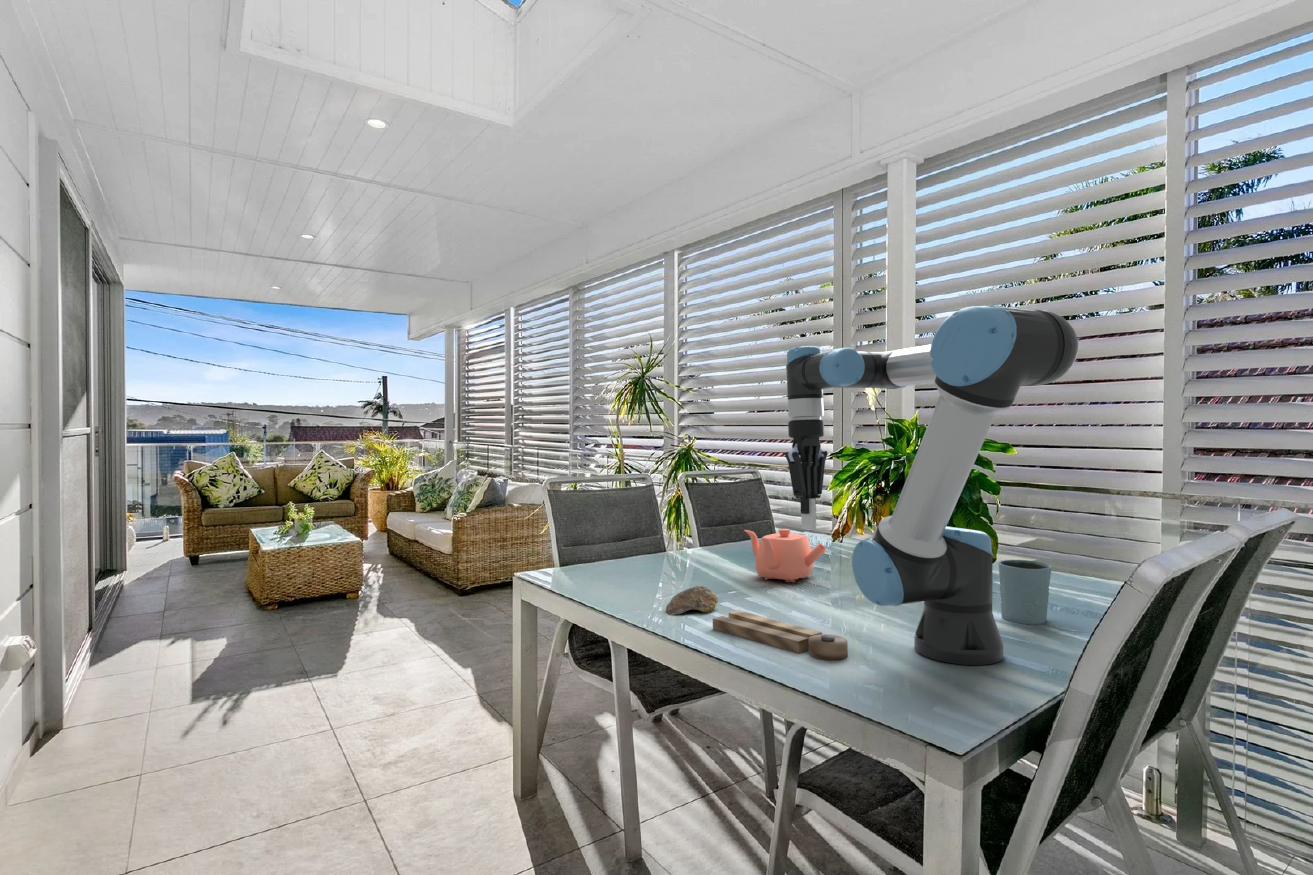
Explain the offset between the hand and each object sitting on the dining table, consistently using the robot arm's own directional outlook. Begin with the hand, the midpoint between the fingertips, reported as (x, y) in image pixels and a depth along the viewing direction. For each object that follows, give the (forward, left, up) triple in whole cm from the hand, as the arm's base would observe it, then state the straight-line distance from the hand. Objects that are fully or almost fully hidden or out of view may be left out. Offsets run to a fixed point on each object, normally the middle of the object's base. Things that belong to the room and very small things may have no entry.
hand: (808, 528), depth 148 cm
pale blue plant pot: (-31, -35, -21) cm, 51 cm away
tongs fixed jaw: (-3, +15, -20) cm, 25 cm away
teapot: (+31, -31, -21) cm, 49 cm away
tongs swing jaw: (0, +12, -20) cm, 23 cm away
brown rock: (+26, +11, -21) cm, 35 cm away
